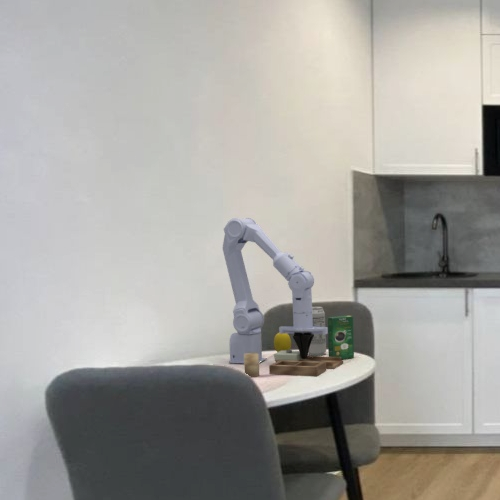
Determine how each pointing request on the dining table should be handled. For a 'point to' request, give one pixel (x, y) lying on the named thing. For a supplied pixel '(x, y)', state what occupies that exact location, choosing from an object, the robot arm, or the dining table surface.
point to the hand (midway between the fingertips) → (304, 358)
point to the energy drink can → (318, 340)
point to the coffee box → (340, 337)
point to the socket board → (297, 368)
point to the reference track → (330, 361)
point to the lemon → (282, 342)
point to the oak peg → (251, 364)
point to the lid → (287, 355)
